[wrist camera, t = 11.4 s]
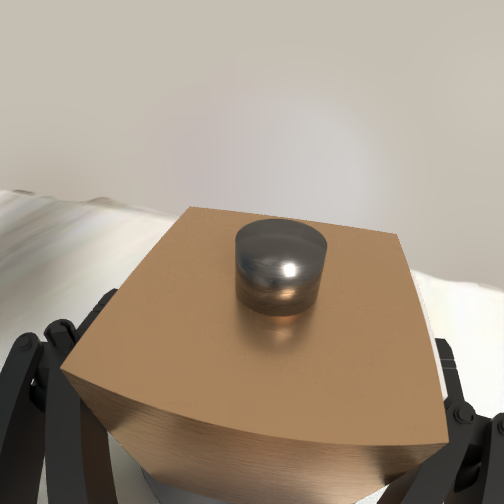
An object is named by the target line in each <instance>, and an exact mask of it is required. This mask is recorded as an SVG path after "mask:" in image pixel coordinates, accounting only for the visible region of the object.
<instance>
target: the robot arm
mask: <svg viewBox="0 0 504 504" xmlns="http://www.w3.org/2000/svg"><path fill="white" fill-rule="evenodd" d="M410 273H411V276H412V279H413V282H414V285H415V288H416V291H417V294H418V297H419V301H420V304H421V307H422V311H423V314H424V318H425V321H426V325H427V329H428V332H429V336H430V340H431V344H432V348H433V352H434V357H435V361H436V366H437V370H438V375H439V380H440V385H441V391H442V396H443V402H444V408H445V415H446V422H447V429H448V438H449V443H447V444H446V445H445V446H444V447H442V448H441V449H440V450H438V451H437V452H436V453H434V454H433V455H432V456H430V457H429V458H428V459H426V460H425V461H423V462H422V463H421V464H419V465H418V466H416V467H415V468H413V469H412V470H410V471H409V472H407V473H406V474H404V475H403V476H401V477H399V478H398V479H396V480H395V481H393V482H391V483H390V484H389V486H388V487H387V489H386V490H385V492H384V493H383V495H382V496H381V498H380V499H379V501H378V502H377V504H443V502H444V504H504V413H499V414H497V415H496V416H495V417H494V418H493V419H491V418H487V417H484V416H480V415H477V414H476V413H475V410H474V408H473V407H472V406H471V405H470V404H469V403H468V402H465V400H464V397H463V392H462V388H461V383H460V379H459V375H458V371H457V369H456V363H455V361H454V356H453V352H452V349H451V347H450V346H449V344H448V343H447V341H446V340H445V339H440V338H434V335H433V331H432V327H431V324H430V321H429V317H428V314H427V310H426V307H425V304H424V301H423V298H422V295H421V292H420V289H419V286H418V283H417V280H416V277H415V274H414V273H413V272H410ZM117 291H118V289H115V288H114V289H112V290H111V291H109V292H108V293H106V294H105V295H104V296H103V297H102V298H101V299H100V301H99V302H98V304H96V306H95V307H94V308H93V311H91V312H90V313H89V314H88V316H87V317H86V318H85V320H84V321H83V322H82V323H81V325H80V326H79V327H78V329H77V330H76V329H75V327H74V325H73V323H72V322H71V321H69V320H67V319H59V320H56V321H54V322H52V323H51V324H49V325H48V326H47V328H46V329H45V331H44V336H45V337H46V339H47V341H48V342H41V341H40V340H39V338H38V337H37V335H36V334H34V333H32V332H29V333H24V334H22V335H21V336H19V337H18V338H17V339H16V341H15V342H14V344H13V346H12V348H11V351H10V353H9V355H8V357H7V359H6V362H5V364H4V366H3V368H2V371H1V373H0V504H37V498H38V491H39V484H40V478H41V472H42V467H43V462H44V457H45V464H46V482H47V494H48V504H118V502H117V497H116V492H115V486H114V480H113V474H112V467H111V460H110V453H109V444H108V435H107V429H106V428H105V427H104V426H103V425H102V423H101V422H100V421H99V420H98V419H97V417H96V416H95V415H94V414H93V412H92V411H91V410H90V409H89V407H88V406H87V405H86V404H85V402H84V401H83V400H82V398H81V397H80V396H79V394H78V393H77V392H76V390H75V389H74V388H73V386H72V385H71V383H70V382H69V381H68V379H67V378H66V376H65V375H64V373H63V372H62V370H61V369H60V367H61V365H62V364H63V362H64V361H65V360H66V358H67V357H68V355H69V354H70V353H71V351H72V350H73V348H74V347H75V346H76V344H77V343H78V341H79V340H80V339H81V337H82V336H83V335H84V333H85V332H86V331H87V329H88V328H89V327H90V325H91V324H92V323H93V321H94V320H95V319H96V317H97V316H98V315H99V313H100V312H101V311H102V310H103V308H104V307H105V306H106V304H107V303H108V302H109V301H110V299H111V298H112V297H113V296H114V294H115V293H116V292H117ZM33 379H34V381H33V383H32V380H33ZM31 383H32V385H31Z"/></svg>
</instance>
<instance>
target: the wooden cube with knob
mask: <svg viewBox="0 0 504 504" xmlns="http://www.w3.org/2000/svg"><path fill="white" fill-rule="evenodd" d="M60 369H61V370H62V372H63V373H64V375H65V376H66V378H67V379H68V381H69V382H70V383H71V385H72V386H73V388H74V389H75V390H76V392H77V393H78V394H79V396H80V397H81V398H82V400H83V401H84V402H85V404H86V405H87V406H88V407H89V409H90V410H91V411H92V412H93V414H94V415H95V416H96V417H97V419H98V420H99V421H100V422H101V423H102V425H103V426H104V427H105V428H106V429H107V430H108V432H109V433H110V434H111V435H112V436H113V437H114V438H115V439H116V441H117V442H118V443H119V444H120V445H121V446H122V447H123V448H124V449H125V450H126V451H127V452H128V453H129V454H130V455H131V456H132V457H133V459H134V460H135V461H136V462H137V463H138V464H140V465H141V466H142V467H143V468H144V469H145V470H146V471H147V472H148V473H149V474H150V475H151V476H152V477H153V478H154V479H155V480H156V481H158V482H161V483H164V484H166V485H169V486H172V487H175V488H178V489H182V490H185V491H188V492H191V493H195V494H198V495H202V496H206V497H209V498H213V499H217V500H222V501H226V502H230V503H235V504H353V503H355V502H357V501H359V500H361V499H363V498H365V497H367V496H369V495H370V494H372V493H374V492H376V491H378V490H379V489H381V488H383V487H385V486H386V485H388V484H390V483H391V482H393V481H395V480H396V479H398V478H399V477H401V476H403V475H404V474H406V473H407V472H409V471H410V470H412V469H413V468H415V467H416V466H418V465H419V464H421V463H422V462H423V461H425V460H426V459H428V458H429V457H430V456H432V455H433V454H434V453H436V452H437V451H438V450H440V449H441V448H442V447H444V446H445V445H446V444H447V443H449V438H448V429H447V422H446V415H445V408H444V402H443V396H442V391H441V385H440V380H439V375H438V370H437V366H436V361H435V357H434V352H433V348H432V344H431V340H430V336H429V332H428V329H427V325H426V321H425V318H424V314H423V311H422V307H421V304H420V301H419V297H418V294H417V291H416V288H415V285H414V282H413V279H412V276H411V273H410V270H409V267H408V264H407V261H406V258H405V255H404V253H403V250H402V248H401V245H400V242H399V239H398V237H397V234H392V233H385V232H380V231H373V230H367V229H360V228H354V227H348V226H340V225H334V224H327V223H320V222H313V221H306V220H299V219H291V218H284V217H276V216H268V215H259V214H252V213H244V212H235V211H226V210H217V209H208V208H199V207H189V208H188V209H187V210H186V211H185V213H184V214H183V215H182V216H181V217H180V218H179V219H178V220H177V221H176V222H175V223H174V224H173V226H172V227H171V228H170V229H169V230H168V231H167V232H166V234H165V235H164V236H163V237H162V238H161V239H160V240H159V242H158V243H157V244H156V245H155V246H154V247H153V248H152V250H151V251H150V252H149V253H148V254H147V255H146V257H145V258H144V259H143V260H142V261H141V263H140V264H139V265H138V266H137V267H136V269H135V270H134V271H133V272H132V273H131V275H130V276H129V277H128V278H127V279H126V281H125V282H124V283H123V284H122V286H121V287H120V288H119V289H118V291H117V292H116V293H115V294H114V296H113V297H112V298H111V299H110V301H109V302H108V303H107V304H106V306H105V307H104V308H103V310H102V311H101V312H100V313H99V315H98V316H97V317H96V319H95V320H94V321H93V323H92V324H91V325H90V327H89V328H88V329H87V331H86V332H85V333H84V335H83V336H82V337H81V339H80V340H79V341H78V343H77V344H76V346H75V347H74V348H73V350H72V351H71V353H70V354H69V355H68V357H67V358H66V360H65V361H64V362H63V364H62V365H61V367H60Z"/></svg>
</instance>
